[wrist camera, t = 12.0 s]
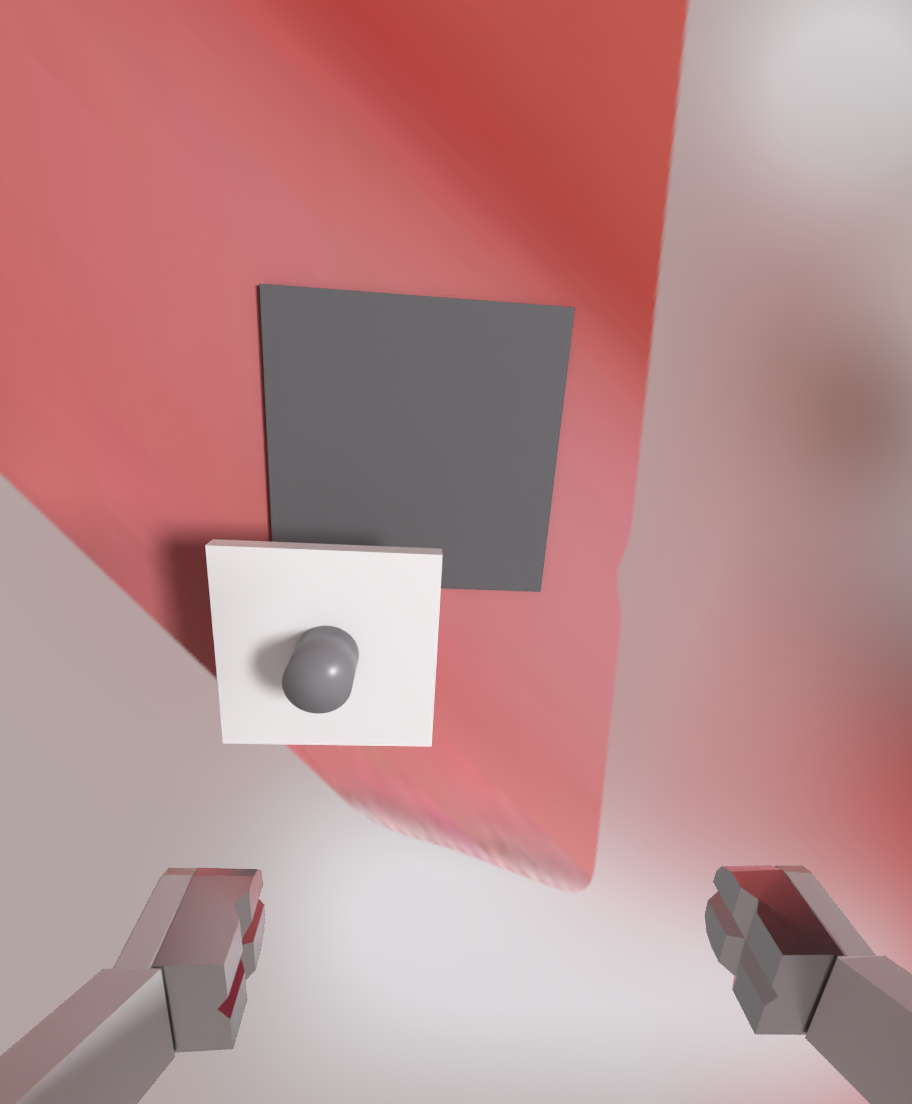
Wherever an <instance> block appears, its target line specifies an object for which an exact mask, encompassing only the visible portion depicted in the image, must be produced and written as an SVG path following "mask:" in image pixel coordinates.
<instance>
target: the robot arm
mask: <svg viewBox="0 0 912 1104" xmlns="http://www.w3.org/2000/svg"><path fill="white" fill-rule="evenodd" d="M713 882H714V884H715V886H716V888H717V890H718V892H717V893H716V894H715V895H714V896H712V897H711V898H710V899H709V900H708V903H707V907H706V911H705V922H706V930H707V935H708V938H709V941H710V944H711V947H712V949H713V951H714V953H715V955H716V957H717V959H718V961H719V962H720V963H721V964H722V965H723V966H724V967H726V968H727V969H728V970H729V971H730V972H731V973H732V974H733V975H734V981H733V991H734V994H735V996H736V998H737V1000H738V1001H739V1003H740V1005H741V1007H742V1009H743V1011H744V1013H745V1015H746V1017H747V1019H748V1021H749V1023H750V1025H751V1027H752V1029H753V1031H754V1033H755V1034H798V1035H801V1034H804V1035H806V1037H805V1038H806V1039H807V1040H808V1041H809V1042H810V1043H811V1044H812V1045H813V1046H814V1047H815V1048H816V1049H817V1050H818V1051H819V1052H820V1053H821V1054H822V1055H823V1056H824V1057H825V1058H826V1059H827V1060H828V1061H829V1062H830V1063H831V1064H832V1065H833V1066H834V1067H835V1068H836V1069H837V1070H838V1071H839V1073H840V1074H842V1076H844V1078H845V1079H846V1080H848V1082H849V1083H850V1084H851V1085H852V1086H853V1087H854V1088H855V1089H856V1090H857V1091H858V1092H859V1093H860V1094H861V1095H862V1096H863V1097H864V1098H866V1100H867V1101H868V1102H869V1103H870V1104H912V974H910V973H909V972H908V971H906V970H905V969H903V968H902V967H900V966H899V965H897V964H896V963H894V962H893V961H892V960H890V959H889V958H887V957H886V956H876V955H875V953H874V952H873V951H872V949H871V948H870V947H869V946H868V944H867V943H866V942H865V940H864V939H863V938H862V937H861V935H860V934H859V933H858V931H857V930H856V929H855V928H854V926H853V925H852V924H851V923H850V921H849V920H848V919H847V917H846V916H845V915H844V913H843V912H842V911H841V910H840V908H839V907H838V906H837V904H836V903H835V902H834V901H833V899H832V898H831V897H830V896H829V894H828V893H827V892H826V890H825V889H824V888H823V886H822V885H821V884H820V883H819V881H818V880H817V879H816V877H815V876H814V875H813V874H812V872H810V871H809V870H808V869H807V868H805V867H804V866H771V865H765V866H722V867H720V868H719V870H717V871H716V874H715V877H714V881H713ZM262 886H263V882H262V872H261V870H258V869H221V868H168V870H167V871H166V872H165V873H164V874H163V875H162V876H161V877H160V879H159V881H158V883H157V885H156V887H155V889H154V891H153V892H152V894H151V897H150V898H149V900H148V902H147V904H146V906H145V908H144V910H143V912H142V914H141V915H140V918H139V919H138V921H137V923H136V925H135V927H134V929H133V931H132V933H131V935H130V937H129V939H128V941H127V942H126V944H125V946H124V948H123V950H122V952H121V954H120V956H119V958H118V960H117V962H116V964H115V966H114V967H113V969H102V970H101V971H100V972H99V973H98V974H97V975H95V976H94V977H93V978H92V979H91V980H89V981H88V982H87V983H86V984H85V985H84V986H82V987H81V988H80V989H79V990H78V991H77V992H75V993H74V994H73V995H72V996H71V997H70V998H68V999H67V1000H66V1001H65V1002H64V1003H62V1004H61V1005H60V1006H59V1007H58V1008H57V1009H55V1010H54V1011H53V1012H52V1013H51V1014H49V1015H48V1016H47V1017H46V1018H45V1019H44V1020H42V1021H41V1022H40V1023H39V1024H38V1025H37V1026H36V1027H34V1028H33V1029H32V1030H31V1031H29V1033H27V1034H26V1035H25V1036H24V1037H22V1038H21V1039H20V1040H19V1041H18V1042H16V1043H15V1044H14V1045H13V1046H12V1047H11V1048H9V1049H8V1050H7V1051H6V1052H5V1053H3V1054H2V1055H1V1056H0V1104H137V1103H138V1102H139V1101H140V1100H141V1098H142V1097H143V1096H144V1094H145V1093H146V1092H147V1091H148V1090H149V1088H150V1087H151V1086H152V1085H153V1083H154V1082H155V1081H156V1079H157V1078H158V1077H159V1076H160V1075H161V1073H162V1072H163V1071H164V1070H165V1069H166V1067H167V1066H168V1065H169V1063H170V1062H171V1061H172V1060H173V1059H174V1057H175V1053H174V1052H190V1051H207V1050H222V1049H233V1048H234V1044H235V1041H236V1037H237V1033H238V1030H239V1026H240V1023H241V1020H242V1016H243V1013H244V1009H245V1005H246V1002H247V993H246V982H245V981H246V979H247V978H248V977H249V976H250V975H251V974H252V973H253V972H254V971H255V969H256V966H257V962H258V958H259V955H260V951H261V945H262V939H263V933H264V923H265V909H264V904H263V903H262V902H261V901H260V900H259V896H260V893H261V889H262Z"/></svg>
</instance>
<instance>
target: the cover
mask: <svg viewBox="0 0 912 1104" xmlns="http://www.w3.org/2000/svg"><path fill="white" fill-rule="evenodd" d="M205 549H206V560H207V571H208V583H209V594H210V605H211V616H212V627H213V638H214V649H215V660H216V671H217V682H218V694H219V705H220V715H221V727H222V738H223V743H228V744H230V743H231V744H297V745H367V746H432V730H433V713H434V696H435V679H436V661H437V644H438V627H439V609H440V592H441V575H442V558H443V553H442V549H437V548H413V547H389V546H365V545H341V544H317V543H293V542H268V541H244V540H220V539H212V540H211V541H210V542H209V543H207V544H206V545H205Z"/></svg>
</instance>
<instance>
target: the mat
mask: <svg viewBox="0 0 912 1104" xmlns="http://www.w3.org/2000/svg"><path fill="white" fill-rule="evenodd" d="M260 303H261V324H262V344H263V365H264V385H265V406H266V426H267V446H268V467H269V487H270V508H271V528H272V542H293V543H317V544H341V545H365V546H389V547H413V548H437V549H442V553H443V558H442V575H441V588H449V589H477V590H505V591H533V592H540V591H541V583H542V575H543V567H544V558H545V550H546V542H547V534H548V525H549V517H550V509H551V501H552V492H553V484H554V476H555V468H556V459H557V451H558V443H559V435H560V426H561V418H562V410H563V402H564V393H565V385H566V377H567V369H568V361H569V352H570V344H571V336H572V328H573V319H574V311H575V307H562V306H549V305H535V304H522V303H509V302H496V301H482V300H469V299H456V298H442V297H429V296H416V295H402V294H389V293H376V292H363V291H349V290H336V289H323V288H309V287H296V286H283V285H270V284H260Z"/></svg>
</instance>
